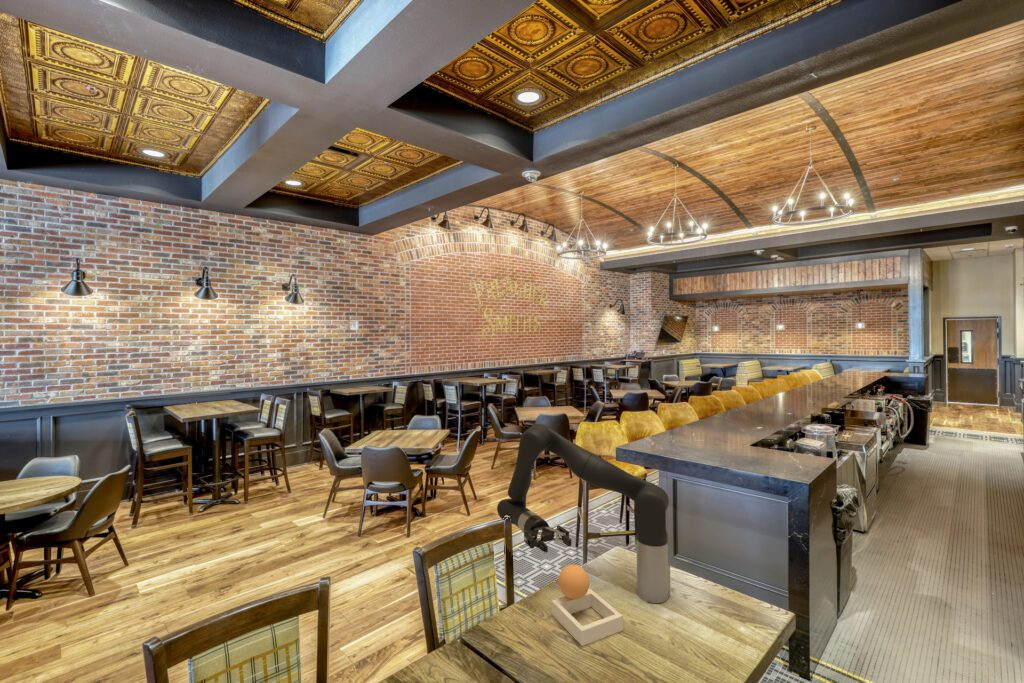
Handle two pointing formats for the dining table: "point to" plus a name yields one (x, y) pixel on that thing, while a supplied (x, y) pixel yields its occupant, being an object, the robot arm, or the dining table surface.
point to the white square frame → (594, 630)
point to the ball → (573, 581)
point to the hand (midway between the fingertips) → (558, 546)
